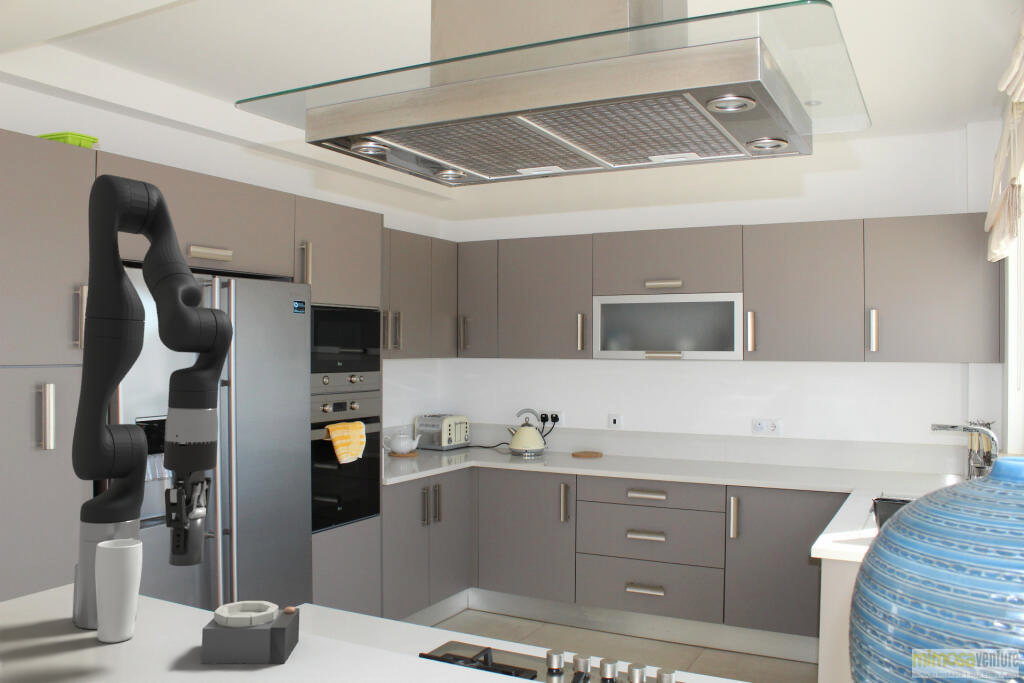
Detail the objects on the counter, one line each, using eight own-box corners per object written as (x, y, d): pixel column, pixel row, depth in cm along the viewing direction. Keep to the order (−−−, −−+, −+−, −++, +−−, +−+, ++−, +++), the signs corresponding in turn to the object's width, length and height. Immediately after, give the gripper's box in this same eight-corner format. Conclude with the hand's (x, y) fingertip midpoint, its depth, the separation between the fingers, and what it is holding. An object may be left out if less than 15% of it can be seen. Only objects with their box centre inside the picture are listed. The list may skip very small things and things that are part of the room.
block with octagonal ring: (201, 663, 119) (202, 618, 119) (221, 641, 128) (223, 599, 129) (284, 663, 119) (286, 618, 119) (298, 641, 129) (299, 600, 129)
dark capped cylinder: (160, 563, 122) (163, 509, 122) (187, 556, 126) (189, 505, 126) (184, 567, 120) (186, 513, 120) (210, 561, 124) (213, 508, 124)
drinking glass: (120, 647, 125) (124, 548, 126) (81, 643, 126) (86, 546, 127) (148, 633, 131) (152, 540, 132) (111, 630, 133) (115, 537, 134)
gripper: (182, 433, 130) (177, 540, 130) (147, 441, 116) (142, 561, 116) (230, 434, 131) (225, 541, 130) (201, 442, 117) (195, 562, 116)
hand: (186, 550), depth 123 cm, fingers closed on dark capped cylinder, 4 cm apart
